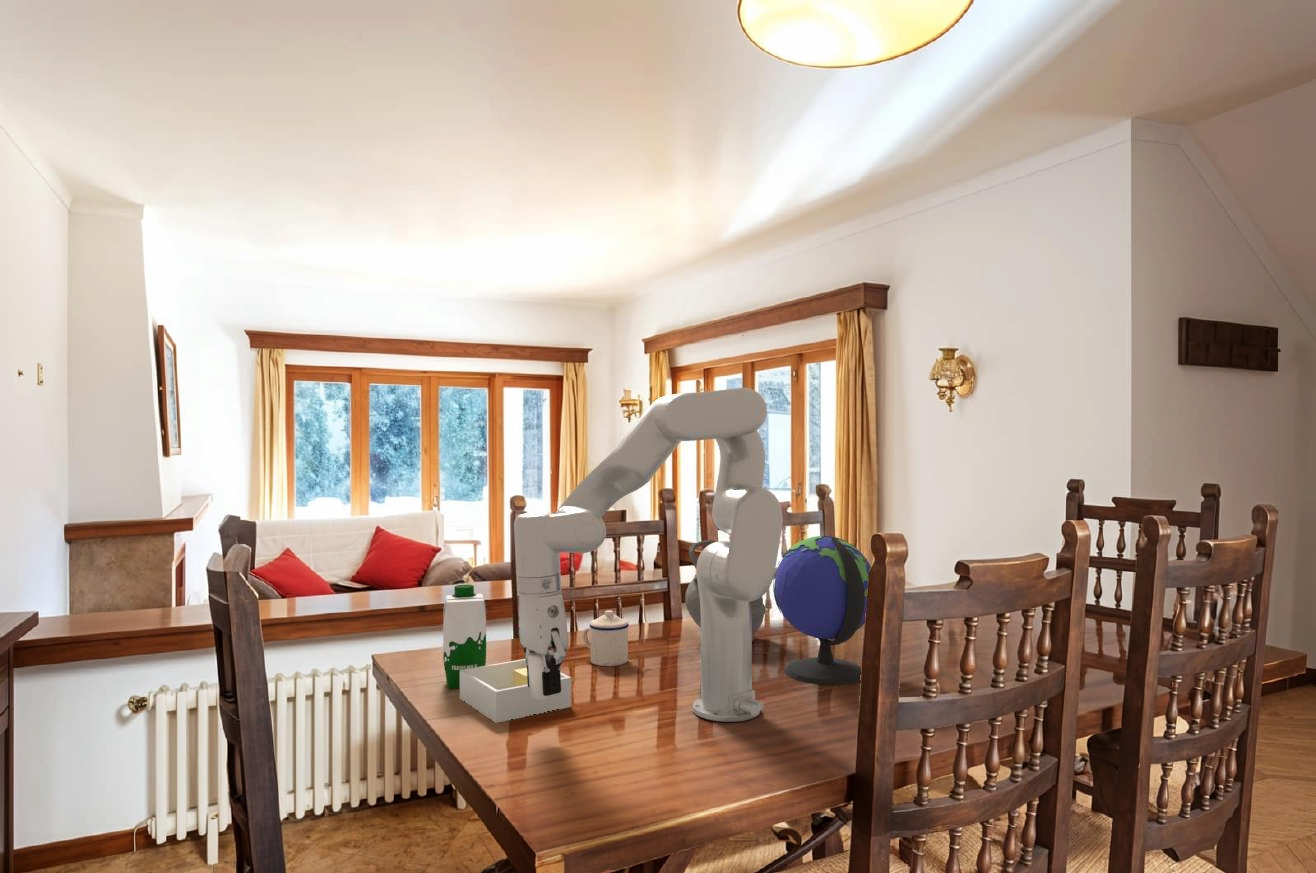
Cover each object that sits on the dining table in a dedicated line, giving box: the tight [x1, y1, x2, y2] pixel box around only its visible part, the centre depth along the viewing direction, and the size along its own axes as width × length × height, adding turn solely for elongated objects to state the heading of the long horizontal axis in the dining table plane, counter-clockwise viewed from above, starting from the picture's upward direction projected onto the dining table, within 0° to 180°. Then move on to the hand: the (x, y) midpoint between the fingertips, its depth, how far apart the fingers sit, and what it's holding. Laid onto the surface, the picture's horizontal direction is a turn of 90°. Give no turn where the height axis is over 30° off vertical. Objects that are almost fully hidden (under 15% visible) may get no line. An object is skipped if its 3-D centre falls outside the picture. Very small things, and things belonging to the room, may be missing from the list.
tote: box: [459, 658, 572, 724], centre depth 156 cm, size 17×15×6 cm
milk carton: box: [442, 584, 487, 690], centre depth 169 cm, size 9×9×20 cm
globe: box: [772, 535, 872, 686], centre depth 176 cm, size 22×22×30 cm
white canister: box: [528, 649, 559, 700], centre depth 138 cm, size 5×5×7 cm
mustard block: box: [513, 668, 528, 687], centre depth 158 cm, size 5×5×5 cm
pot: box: [684, 539, 767, 642], centre depth 205 cm, size 21×21×25 cm
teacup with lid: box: [582, 609, 630, 667], centre depth 186 cm, size 12×9×12 cm
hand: (544, 689), depth 138 cm, fingers closed on white canister, 5 cm apart
